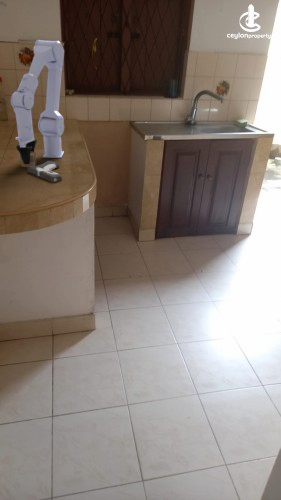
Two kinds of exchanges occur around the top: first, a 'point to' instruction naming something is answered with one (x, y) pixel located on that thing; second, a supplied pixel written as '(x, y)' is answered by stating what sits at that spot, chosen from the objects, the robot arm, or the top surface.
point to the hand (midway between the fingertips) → (28, 161)
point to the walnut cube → (32, 160)
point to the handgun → (46, 171)
